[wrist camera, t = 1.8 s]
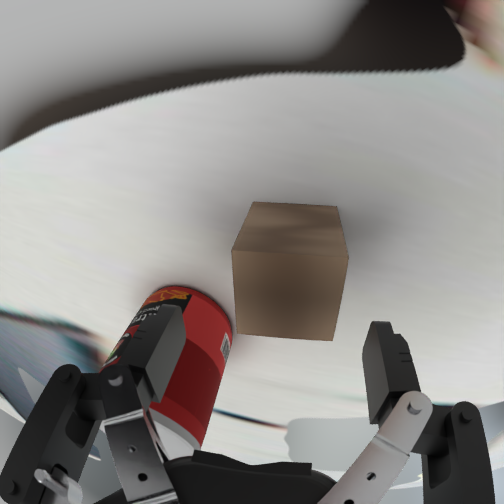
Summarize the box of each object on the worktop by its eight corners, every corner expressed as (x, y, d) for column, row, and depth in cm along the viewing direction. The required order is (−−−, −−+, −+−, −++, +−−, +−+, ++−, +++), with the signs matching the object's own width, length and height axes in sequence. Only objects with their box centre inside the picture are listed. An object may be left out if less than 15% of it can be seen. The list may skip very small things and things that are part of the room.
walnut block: (336, 206, 17) (348, 257, 12) (328, 276, 20) (332, 340, 15) (253, 201, 18) (231, 250, 13) (254, 271, 21) (236, 333, 16)
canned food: (184, 266, 21) (111, 389, 12) (255, 336, 24) (226, 462, 14) (130, 307, 25) (65, 405, 15) (193, 363, 27) (154, 464, 18)
